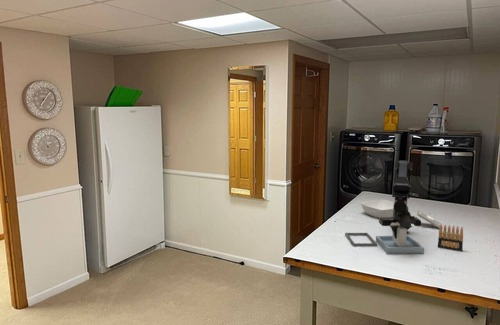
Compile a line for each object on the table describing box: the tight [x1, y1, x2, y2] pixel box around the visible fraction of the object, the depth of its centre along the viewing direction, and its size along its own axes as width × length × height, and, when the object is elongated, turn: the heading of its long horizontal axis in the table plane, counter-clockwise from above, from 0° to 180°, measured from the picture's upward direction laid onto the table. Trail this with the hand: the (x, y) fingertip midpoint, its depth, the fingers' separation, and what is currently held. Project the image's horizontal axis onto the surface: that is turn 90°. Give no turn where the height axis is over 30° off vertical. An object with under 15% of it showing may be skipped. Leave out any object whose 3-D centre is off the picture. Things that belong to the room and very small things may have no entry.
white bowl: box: [361, 199, 395, 220], centre depth 239 cm, size 20×20×8 cm
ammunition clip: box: [437, 223, 464, 252], centre depth 181 cm, size 11×2×12 cm, turn 58°
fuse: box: [391, 223, 408, 247], centre depth 183 cm, size 3×9×9 cm, turn 179°
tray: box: [375, 235, 425, 255], centre depth 184 cm, size 17×17×3 cm
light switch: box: [416, 210, 442, 229], centre depth 216 cm, size 8×6×14 cm
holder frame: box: [344, 232, 378, 247], centre depth 194 cm, size 12×17×1 cm
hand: (399, 238), depth 183 cm, fingers closed on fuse, 3 cm apart
